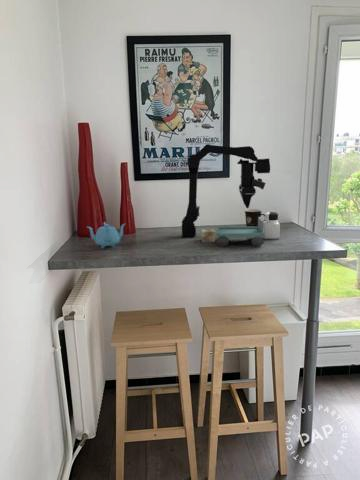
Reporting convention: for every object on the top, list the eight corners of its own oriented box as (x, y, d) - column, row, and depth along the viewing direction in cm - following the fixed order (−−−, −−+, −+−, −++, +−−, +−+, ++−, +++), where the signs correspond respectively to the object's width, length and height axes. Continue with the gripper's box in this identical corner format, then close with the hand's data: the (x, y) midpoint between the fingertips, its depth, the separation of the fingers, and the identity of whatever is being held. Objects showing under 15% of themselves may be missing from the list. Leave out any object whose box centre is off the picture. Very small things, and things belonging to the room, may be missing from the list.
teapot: (108, 251, 156) (107, 228, 153) (86, 247, 162) (84, 225, 160) (127, 244, 167) (126, 222, 164) (106, 241, 173) (104, 220, 171)
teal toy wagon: (217, 246, 158) (217, 222, 156) (216, 239, 172) (216, 216, 169) (263, 246, 156) (264, 222, 154) (259, 238, 170) (259, 216, 167)
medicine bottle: (277, 235, 176) (278, 211, 174) (279, 238, 170) (280, 213, 167) (262, 235, 177) (263, 211, 174) (264, 238, 170) (264, 213, 167)
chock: (201, 242, 167) (201, 231, 166) (202, 239, 172) (202, 229, 171) (214, 242, 167) (214, 231, 165) (214, 239, 171) (214, 229, 170)
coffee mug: (241, 228, 194) (242, 209, 192) (255, 226, 197) (256, 208, 194) (252, 232, 184) (252, 213, 181) (266, 230, 186) (267, 211, 184)
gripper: (267, 174, 159) (266, 209, 163) (261, 172, 177) (260, 203, 181) (242, 175, 160) (241, 209, 164) (239, 172, 178) (238, 203, 182)
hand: (246, 206), depth 173 cm, fingers open, 9 cm apart
